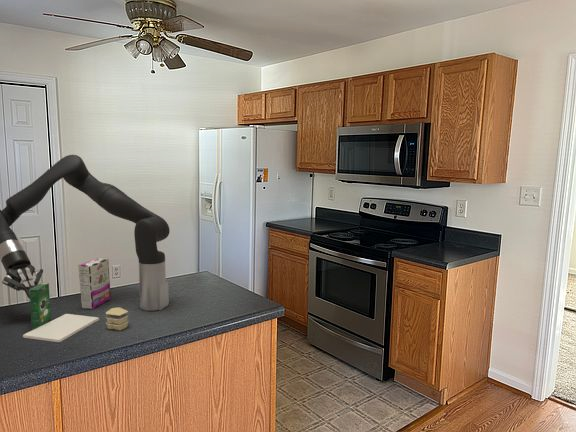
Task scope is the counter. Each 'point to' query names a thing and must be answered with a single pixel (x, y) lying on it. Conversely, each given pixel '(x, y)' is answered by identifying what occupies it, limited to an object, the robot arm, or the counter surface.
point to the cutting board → (61, 328)
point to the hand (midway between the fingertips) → (34, 297)
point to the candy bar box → (94, 283)
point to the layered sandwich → (117, 318)
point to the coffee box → (40, 305)
